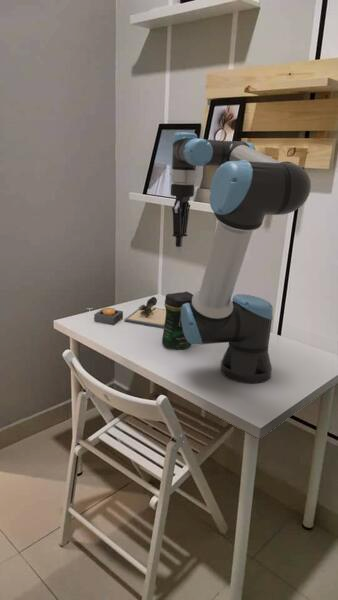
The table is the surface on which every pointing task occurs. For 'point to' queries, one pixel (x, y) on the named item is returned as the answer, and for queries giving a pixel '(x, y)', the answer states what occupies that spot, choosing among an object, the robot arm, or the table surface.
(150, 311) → the eagle figurine
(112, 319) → the button housing
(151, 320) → the board
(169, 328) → the coffee jar
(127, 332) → the table surface
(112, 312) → the button
